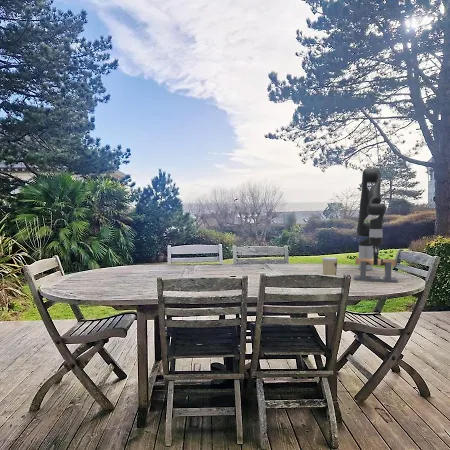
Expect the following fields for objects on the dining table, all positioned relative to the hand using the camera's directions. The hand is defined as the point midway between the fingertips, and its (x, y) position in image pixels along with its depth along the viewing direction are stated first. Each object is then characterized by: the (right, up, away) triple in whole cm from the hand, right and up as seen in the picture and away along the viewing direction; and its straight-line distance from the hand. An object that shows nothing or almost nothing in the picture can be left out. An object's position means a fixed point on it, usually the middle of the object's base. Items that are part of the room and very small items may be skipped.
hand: (375, 264), depth 230 cm
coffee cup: (-24, -9, +12) cm, 29 cm away
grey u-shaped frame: (0, -9, 0) cm, 9 cm away
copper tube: (0, +2, 0) cm, 2 cm away
